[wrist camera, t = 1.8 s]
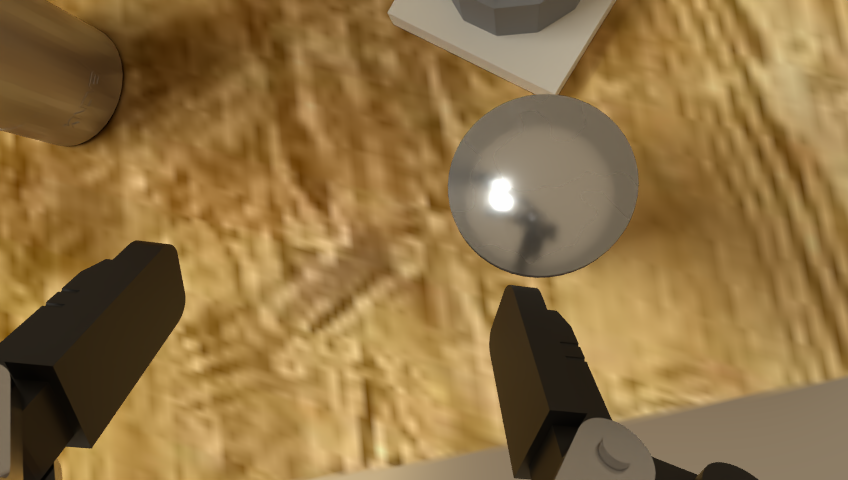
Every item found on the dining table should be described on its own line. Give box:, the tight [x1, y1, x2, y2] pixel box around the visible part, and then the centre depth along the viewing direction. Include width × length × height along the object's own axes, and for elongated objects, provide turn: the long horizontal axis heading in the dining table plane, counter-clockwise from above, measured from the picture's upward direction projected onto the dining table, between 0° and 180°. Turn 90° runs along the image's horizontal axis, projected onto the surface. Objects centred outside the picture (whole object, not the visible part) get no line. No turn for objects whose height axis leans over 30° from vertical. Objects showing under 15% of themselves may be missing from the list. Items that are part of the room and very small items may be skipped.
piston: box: [448, 94, 639, 278], centre depth 17 cm, size 5×5×12 cm
